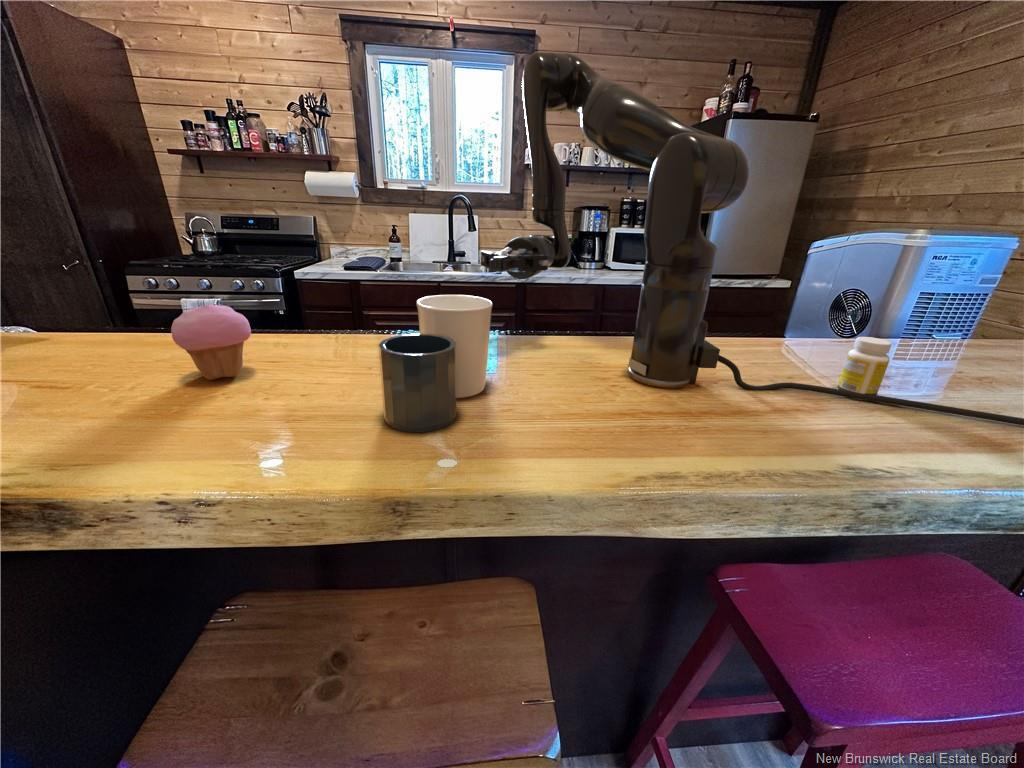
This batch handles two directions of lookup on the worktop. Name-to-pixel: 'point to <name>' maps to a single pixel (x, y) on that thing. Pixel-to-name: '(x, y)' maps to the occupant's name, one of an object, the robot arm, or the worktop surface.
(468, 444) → the worktop surface
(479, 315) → the cream tumbler
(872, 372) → the supplement bottle
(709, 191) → the robot arm
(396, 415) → the cup
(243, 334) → the cupcake
